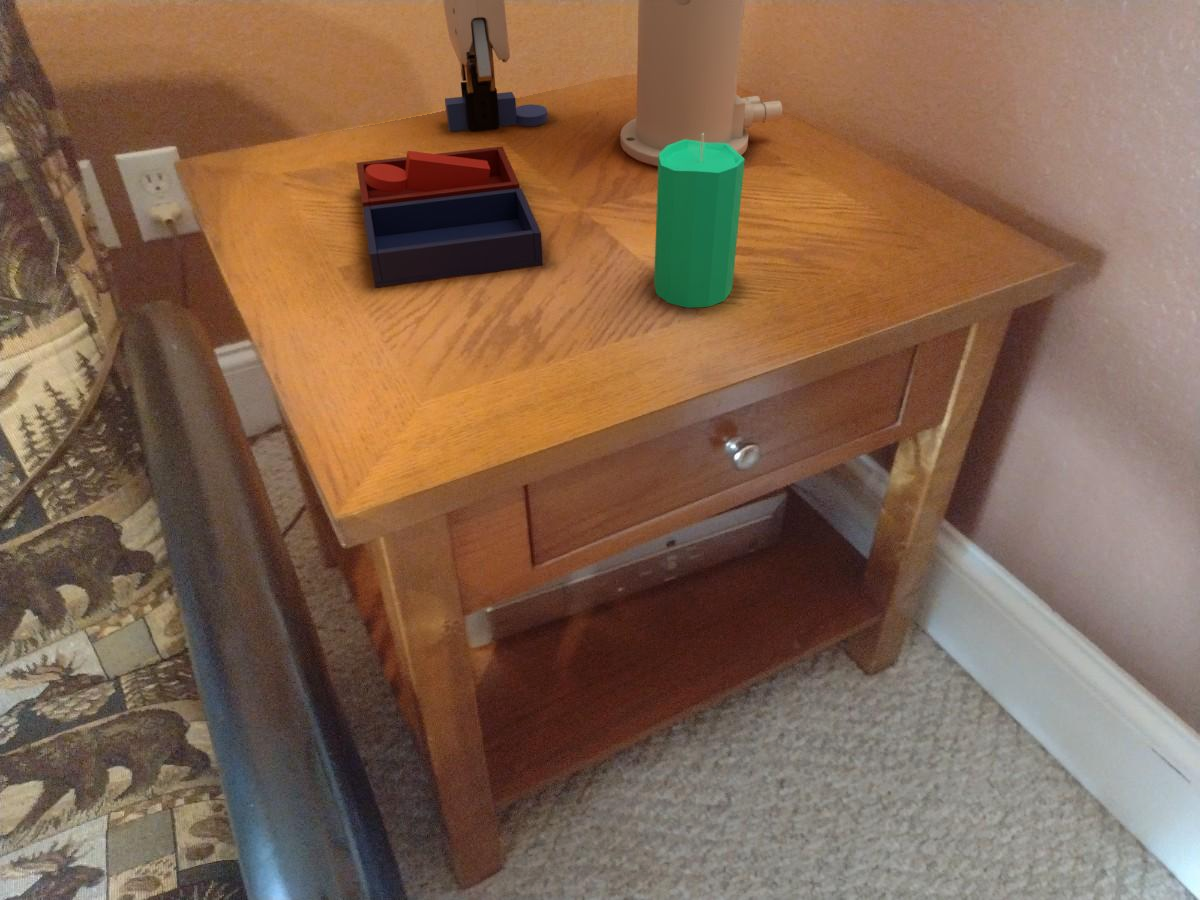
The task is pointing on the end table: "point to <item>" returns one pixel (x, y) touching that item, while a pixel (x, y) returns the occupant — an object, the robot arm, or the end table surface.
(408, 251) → the navy bin
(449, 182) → the red spoon
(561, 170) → the end table surface
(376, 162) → the maroon bin
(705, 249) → the candle
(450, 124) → the blue spoon
